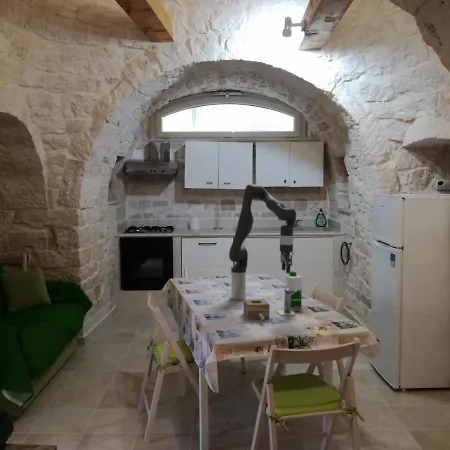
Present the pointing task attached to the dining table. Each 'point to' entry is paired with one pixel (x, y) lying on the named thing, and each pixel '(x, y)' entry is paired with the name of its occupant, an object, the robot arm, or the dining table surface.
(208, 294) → the dining table surface
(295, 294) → the milk carton
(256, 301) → the brown wooden block
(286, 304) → the key peg
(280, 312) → the pad
